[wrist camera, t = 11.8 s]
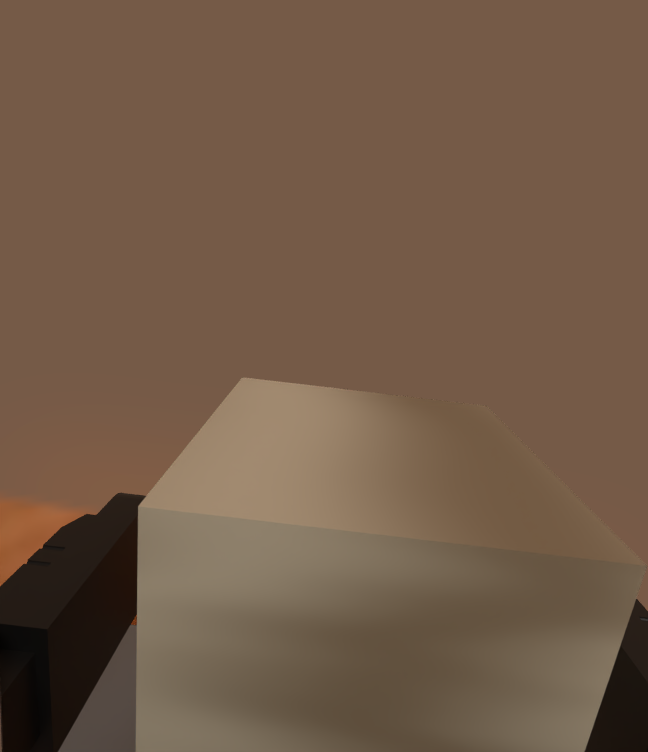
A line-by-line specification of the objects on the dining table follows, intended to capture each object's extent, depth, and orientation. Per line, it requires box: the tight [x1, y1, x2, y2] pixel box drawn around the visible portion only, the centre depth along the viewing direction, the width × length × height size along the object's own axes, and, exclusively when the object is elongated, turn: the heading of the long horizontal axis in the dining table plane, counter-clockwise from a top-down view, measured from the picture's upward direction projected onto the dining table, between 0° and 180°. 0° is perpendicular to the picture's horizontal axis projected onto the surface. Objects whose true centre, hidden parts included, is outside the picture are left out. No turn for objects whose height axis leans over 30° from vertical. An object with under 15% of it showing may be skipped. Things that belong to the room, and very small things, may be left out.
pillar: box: [136, 378, 647, 752], centre depth 8 cm, size 5×5×11 cm
